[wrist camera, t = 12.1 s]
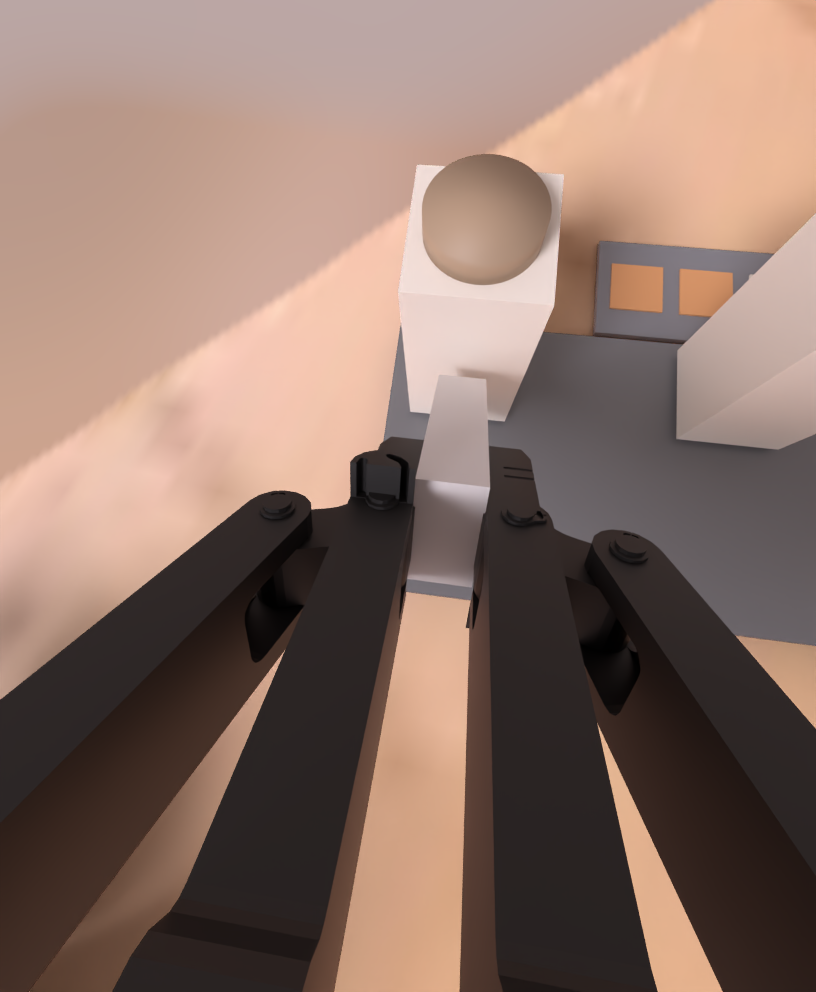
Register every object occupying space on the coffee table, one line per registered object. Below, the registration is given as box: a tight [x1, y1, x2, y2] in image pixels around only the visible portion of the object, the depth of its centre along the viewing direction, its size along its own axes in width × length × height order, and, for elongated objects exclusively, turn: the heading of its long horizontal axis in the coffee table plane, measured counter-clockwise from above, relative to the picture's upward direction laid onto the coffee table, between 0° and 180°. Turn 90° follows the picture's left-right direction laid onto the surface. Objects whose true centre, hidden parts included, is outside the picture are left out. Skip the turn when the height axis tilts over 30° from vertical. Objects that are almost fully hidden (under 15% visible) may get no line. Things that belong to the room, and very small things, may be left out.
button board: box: [383, 241, 816, 646], centre depth 20 cm, size 28×18×2 cm, turn 83°
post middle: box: [676, 213, 816, 450], centre depth 15 cm, size 4×4×9 cm
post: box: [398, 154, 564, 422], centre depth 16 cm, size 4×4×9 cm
